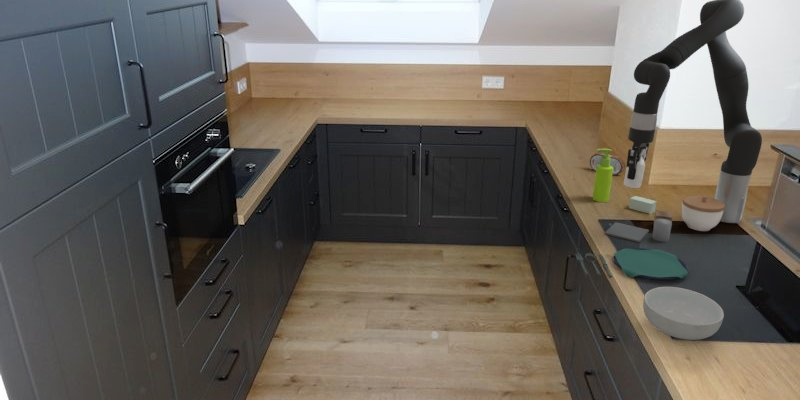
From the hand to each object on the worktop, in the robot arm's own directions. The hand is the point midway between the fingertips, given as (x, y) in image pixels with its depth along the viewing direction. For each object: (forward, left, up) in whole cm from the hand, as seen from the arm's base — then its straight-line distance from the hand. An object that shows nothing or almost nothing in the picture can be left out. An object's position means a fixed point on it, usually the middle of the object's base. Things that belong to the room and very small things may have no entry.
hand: (634, 176), depth 187 cm
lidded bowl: (-20, -15, -18) cm, 31 cm away
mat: (-2, +5, -18) cm, 19 cm away
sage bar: (0, -20, -18) cm, 27 cm away
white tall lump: (0, 0, -3) cm, 3 cm away
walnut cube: (-10, -7, -18) cm, 22 cm away
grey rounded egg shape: (-12, +3, -18) cm, 22 cm away
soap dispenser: (+16, -21, -18) cm, 32 cm away
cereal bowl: (-28, +56, -18) cm, 65 cm away
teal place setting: (-10, +28, -19) cm, 36 cm away
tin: (+25, -56, -18) cm, 64 cm away
